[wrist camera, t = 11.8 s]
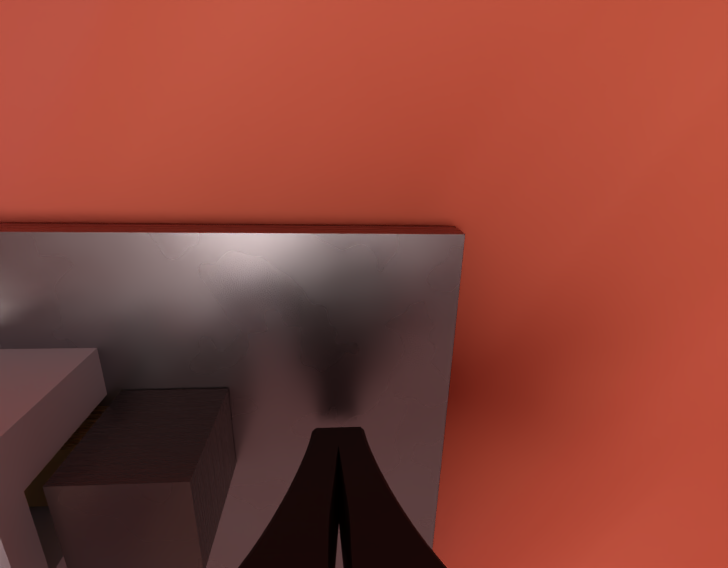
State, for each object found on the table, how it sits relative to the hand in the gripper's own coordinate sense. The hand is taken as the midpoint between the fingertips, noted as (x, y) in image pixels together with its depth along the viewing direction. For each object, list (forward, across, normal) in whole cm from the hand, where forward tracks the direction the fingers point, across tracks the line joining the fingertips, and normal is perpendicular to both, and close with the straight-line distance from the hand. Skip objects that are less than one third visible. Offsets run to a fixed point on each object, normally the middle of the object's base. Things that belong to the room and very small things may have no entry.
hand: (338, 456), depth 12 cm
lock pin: (+1, +9, 0) cm, 9 cm away
